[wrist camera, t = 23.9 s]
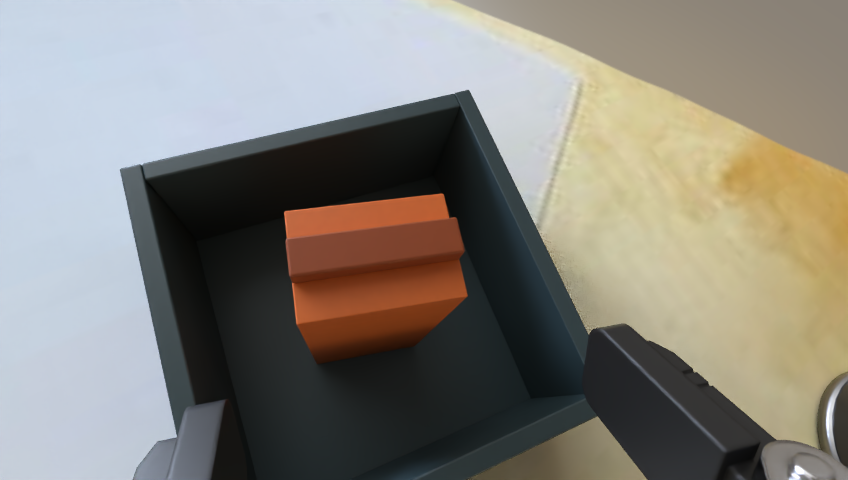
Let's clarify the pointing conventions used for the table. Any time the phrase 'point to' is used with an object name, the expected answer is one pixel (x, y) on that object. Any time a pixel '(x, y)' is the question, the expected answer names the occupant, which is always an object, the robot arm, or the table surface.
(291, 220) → the block
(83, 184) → the table surface
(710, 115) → the table surface
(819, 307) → the table surface
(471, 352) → the bin
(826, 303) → the table surface
